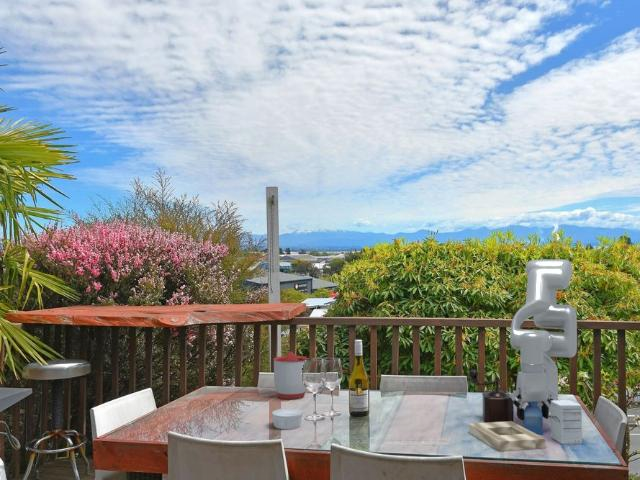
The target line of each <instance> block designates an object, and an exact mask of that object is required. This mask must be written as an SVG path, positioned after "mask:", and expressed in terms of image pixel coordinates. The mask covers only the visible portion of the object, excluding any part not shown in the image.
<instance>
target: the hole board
mask: <svg viewBox="0 0 640 480" xmlns="http://www.w3.org/2000/svg"><path fill="white" fill-rule="evenodd" d="M468 433H469V434H471V435H472V436H474V437H475V438H477V439H479V440H480V441H482V442H483V443H484V444H486V445H488V446H490V447H491V448H492V449H495V450H496V451H497V452H507V451H508V452H510V451H513V452H514V451H527V450H528V451H529V450H537V449H538V450H539V449H540V450H542V449H546V438H545V437H543V436H542V435H537V434H535V433H533V432H531V431H529V430H527V429H526V428H524V426H521V425H519V424H518V423H516V422H515V421H514V422H512V421H507V422H489V423H485V422H477V423H476V422H475V423H474V422H473V423H468Z"/></svg>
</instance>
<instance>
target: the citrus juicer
mask: <svg viewBox="0 0 640 480" xmlns="http://www.w3.org/2000/svg"><path fill="white" fill-rule="evenodd" d="M305 360H307V361H308V357H307V356H302V355H295V353H294V352H293V351H289V352H288V353H287V354H286V355H283V356H281V355H280V356H276V357H273V381H274V388H275V393H276V394H277V397H278V398H280V399H281V400H286V399H289V400H290V399H294V400H296V399H297V400H300V399H301V398H304V397H305V394H306V392H307V388H305V386H304V385H303V383H302V377H301V373H302V368H303V365H304V362H305Z"/></svg>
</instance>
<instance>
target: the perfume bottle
mask: <svg viewBox="0 0 640 480" xmlns="http://www.w3.org/2000/svg"><path fill="white" fill-rule="evenodd" d="M526 403H527V404H526V405H525V408H524V420H523V427H524V428H526V429H527V430H529V431H531V432H533V433H535V434H537V435H539V436H543V435H544V429H543V428H544V427H543V425H544V423H543V421H544V420H543V419H544V417H543V416H542V411H541V409H540V407H539V406H537V404H538V402H526Z"/></svg>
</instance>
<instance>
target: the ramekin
mask: <svg viewBox="0 0 640 480" xmlns="http://www.w3.org/2000/svg"><path fill="white" fill-rule="evenodd" d="M271 416H272V421H273V422H272V423H273V426H274V427H275V428H276V429H279V430H286V431H287V430H296V429H297V428H300V426H301V422H302V416H303V411H302V410H301V409H298V408H289V407H288V408H279V409H275V410H273V411H272V412H271Z"/></svg>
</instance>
